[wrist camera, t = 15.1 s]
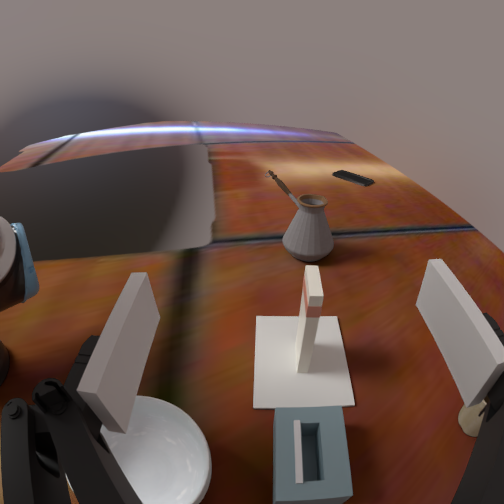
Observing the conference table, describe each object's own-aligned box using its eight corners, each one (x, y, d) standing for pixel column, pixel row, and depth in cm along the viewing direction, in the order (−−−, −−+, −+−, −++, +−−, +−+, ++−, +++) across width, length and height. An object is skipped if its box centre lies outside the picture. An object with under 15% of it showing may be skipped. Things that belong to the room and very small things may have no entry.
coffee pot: (342, 255, 70) (352, 194, 62) (305, 273, 65) (312, 206, 57) (284, 219, 85) (286, 165, 77) (248, 230, 80) (247, 173, 72)
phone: (341, 169, 121) (374, 180, 112) (341, 172, 121) (374, 183, 112) (331, 173, 116) (365, 184, 107) (330, 176, 117) (365, 187, 108)
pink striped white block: (308, 373, 44) (323, 296, 36) (296, 373, 44) (309, 296, 36) (305, 342, 49) (318, 265, 41) (295, 342, 49) (305, 265, 41)
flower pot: (444, 397, 38) (469, 362, 33) (489, 393, 36) (515, 359, 32) (453, 450, 30) (485, 420, 25) (500, 441, 29) (534, 410, 24)
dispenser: (341, 504, 27) (354, 494, 24) (272, 508, 27) (275, 500, 24) (333, 422, 37) (342, 403, 34) (273, 424, 37) (275, 405, 34)
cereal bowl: (222, 427, 37) (218, 402, 33) (210, 544, 23) (201, 541, 19) (104, 410, 37) (86, 383, 33) (74, 511, 23) (45, 496, 19)
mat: (354, 406, 39) (354, 404, 39) (253, 408, 39) (253, 407, 39) (336, 317, 54) (336, 316, 54) (256, 317, 54) (256, 315, 54)
